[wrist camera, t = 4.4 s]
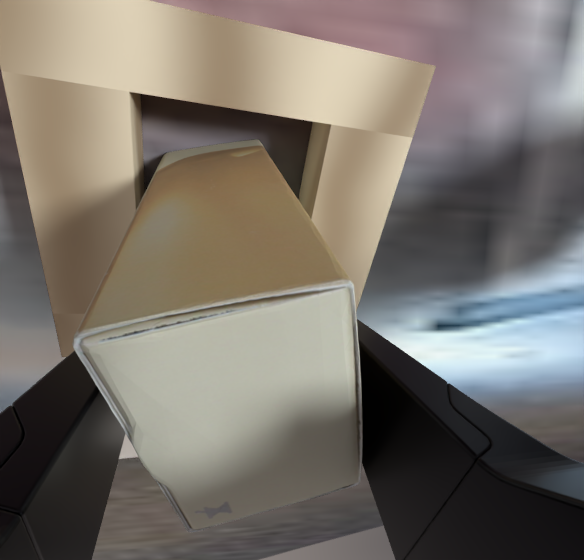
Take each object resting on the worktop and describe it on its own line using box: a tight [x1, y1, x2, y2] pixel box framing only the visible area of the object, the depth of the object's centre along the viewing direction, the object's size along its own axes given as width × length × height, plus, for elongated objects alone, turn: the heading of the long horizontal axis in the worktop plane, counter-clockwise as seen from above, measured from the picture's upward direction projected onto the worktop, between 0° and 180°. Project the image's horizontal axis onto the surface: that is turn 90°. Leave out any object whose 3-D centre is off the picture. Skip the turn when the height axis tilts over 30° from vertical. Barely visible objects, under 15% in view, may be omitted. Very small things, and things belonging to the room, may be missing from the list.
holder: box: [0, 0, 436, 357], centre depth 16 cm, size 14×14×2 cm
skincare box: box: [72, 139, 363, 532], centre depth 12 cm, size 6×4×12 cm
